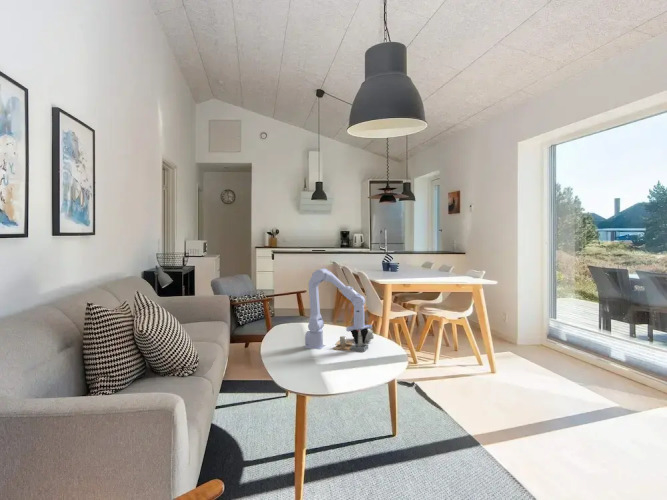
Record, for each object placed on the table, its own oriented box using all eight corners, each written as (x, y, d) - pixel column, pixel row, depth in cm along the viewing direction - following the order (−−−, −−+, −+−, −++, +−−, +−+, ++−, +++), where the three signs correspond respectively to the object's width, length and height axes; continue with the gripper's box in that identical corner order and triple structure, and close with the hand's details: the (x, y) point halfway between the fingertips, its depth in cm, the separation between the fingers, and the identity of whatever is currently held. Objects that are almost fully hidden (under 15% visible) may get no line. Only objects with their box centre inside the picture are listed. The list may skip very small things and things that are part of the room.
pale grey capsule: (355, 346, 230) (355, 336, 230) (357, 344, 233) (357, 334, 233) (361, 347, 229) (361, 337, 228) (363, 345, 232) (363, 335, 231)
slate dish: (350, 351, 229) (350, 346, 229) (355, 347, 236) (355, 343, 236) (364, 352, 226) (363, 348, 226) (368, 349, 233) (368, 344, 233)
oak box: (334, 350, 232) (334, 347, 232) (340, 346, 240) (340, 343, 240) (349, 351, 228) (349, 348, 228) (355, 347, 236) (355, 344, 236)
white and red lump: (373, 343, 242) (348, 344, 248) (379, 338, 253) (355, 339, 258) (371, 327, 242) (346, 329, 248) (377, 323, 253) (353, 324, 258)
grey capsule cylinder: (339, 347, 235) (338, 337, 235) (341, 345, 239) (341, 336, 238) (344, 347, 234) (344, 338, 234) (347, 346, 237) (346, 336, 237)
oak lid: (334, 345, 241) (334, 342, 241) (338, 341, 250) (338, 338, 250) (350, 346, 239) (350, 343, 239) (353, 342, 248) (353, 339, 248)
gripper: (350, 320, 224) (350, 346, 224) (374, 318, 229) (375, 343, 230) (344, 318, 230) (344, 343, 231) (368, 315, 236) (369, 340, 236)
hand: (359, 343), depth 231 cm, fingers closed on pale grey capsule, 3 cm apart
